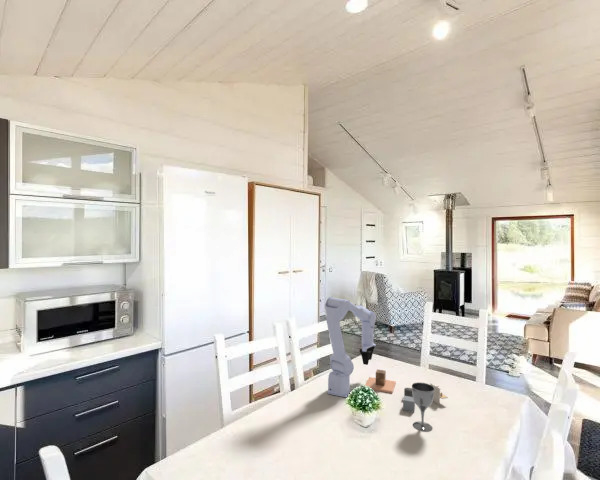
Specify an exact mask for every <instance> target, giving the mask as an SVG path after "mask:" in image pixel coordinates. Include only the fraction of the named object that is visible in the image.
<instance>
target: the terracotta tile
mask: <svg viewBox="0 0 600 480" xmlns="http://www.w3.org/2000/svg"><path fill="white" fill-rule="evenodd" d="M396 381H397V380H396ZM396 381H394V380H391V379H390V380H389V379H385V385H384V386H380V385H376V377H371V376H369V377H368V379H367V381H366V382H365V384H364V386H365V385H366V386H369V387H370V388H372V389H374V390H373V391H375V392H382V393H388V394H393V393H394V389H395V387H396V384H397V382H396Z"/></svg>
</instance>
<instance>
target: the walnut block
mask: <svg viewBox="0 0 600 480" xmlns="http://www.w3.org/2000/svg"><path fill="white" fill-rule="evenodd" d="M386 376H387V375H386V370H383V369H376V371H375V378H376V385H380V386H384V385H385V380H387V379H386Z"/></svg>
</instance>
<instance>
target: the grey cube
mask: <svg viewBox="0 0 600 480" xmlns="http://www.w3.org/2000/svg"><path fill="white" fill-rule="evenodd" d="M415 409H416V403H415V402H414V400H413V397H409V396H403V399H402V411H404V412H409V413H415Z"/></svg>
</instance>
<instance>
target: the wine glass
mask: <svg viewBox="0 0 600 480" xmlns="http://www.w3.org/2000/svg"><path fill="white" fill-rule="evenodd" d="M411 388H412V396H413V400H414V402H415V406H417V407H418V409H419V410H420V417H421V418H420V419H421V421H419V420H418V421H414V422H413V423H412V427H413V429H415V430H417V431H420V432H426V433H427V432H431V431H433V430H434V429H433V428H434V427H433V426H432V424H430V423H428V422H426V421H424V419H425V418H424V417H425V413H426V410H427V409H428V408H430V406H431V405H432V404H433V403H434V401H433V398H434V387H433V386H431V385H430V384H429V383H425V382H413V383H412V385H411Z"/></svg>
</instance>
